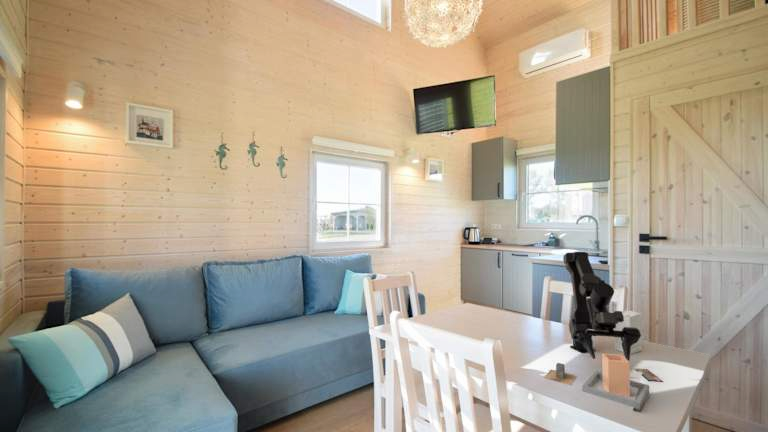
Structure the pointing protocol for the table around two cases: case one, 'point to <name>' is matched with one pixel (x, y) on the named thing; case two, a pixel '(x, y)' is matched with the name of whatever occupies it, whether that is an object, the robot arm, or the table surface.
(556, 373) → the stake block
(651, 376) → the chocolate bar
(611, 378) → the sleeve
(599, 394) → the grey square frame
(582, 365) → the table surface
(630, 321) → the skincare box
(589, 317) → the robot arm
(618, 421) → the table surface
